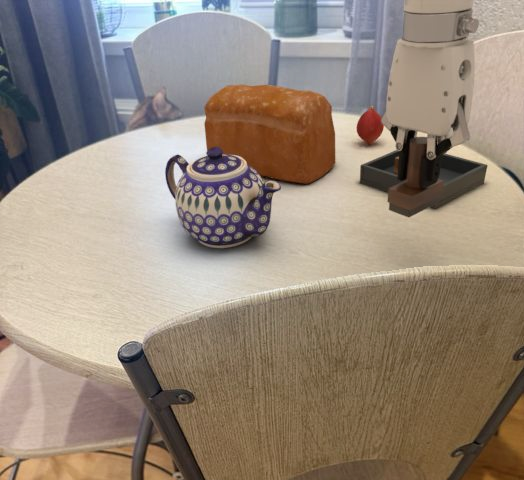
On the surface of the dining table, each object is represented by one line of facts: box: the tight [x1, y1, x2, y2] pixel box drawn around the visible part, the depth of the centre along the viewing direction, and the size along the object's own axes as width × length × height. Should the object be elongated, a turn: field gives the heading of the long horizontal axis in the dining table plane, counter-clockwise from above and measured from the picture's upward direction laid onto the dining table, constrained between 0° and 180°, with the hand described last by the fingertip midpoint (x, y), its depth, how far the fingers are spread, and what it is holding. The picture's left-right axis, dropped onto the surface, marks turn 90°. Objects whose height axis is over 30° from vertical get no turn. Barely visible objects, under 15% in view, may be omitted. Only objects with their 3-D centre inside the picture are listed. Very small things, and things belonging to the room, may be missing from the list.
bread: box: [204, 83, 336, 185], centre depth 109 cm, size 14×26×16 cm, turn 55°
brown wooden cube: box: [394, 156, 399, 174], centre depth 102 cm, size 3×3×3 cm
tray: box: [359, 149, 488, 210], centre depth 100 cm, size 18×15×4 cm
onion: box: [356, 105, 385, 145], centre depth 117 cm, size 6×6×8 cm
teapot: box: [164, 147, 282, 249], centre depth 86 cm, size 25×15×15 cm, turn 48°
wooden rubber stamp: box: [386, 136, 444, 218], centre depth 73 cm, size 7×4×9 cm, turn 129°
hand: (417, 180), depth 73 cm, fingers closed on wooden rubber stamp, 3 cm apart
